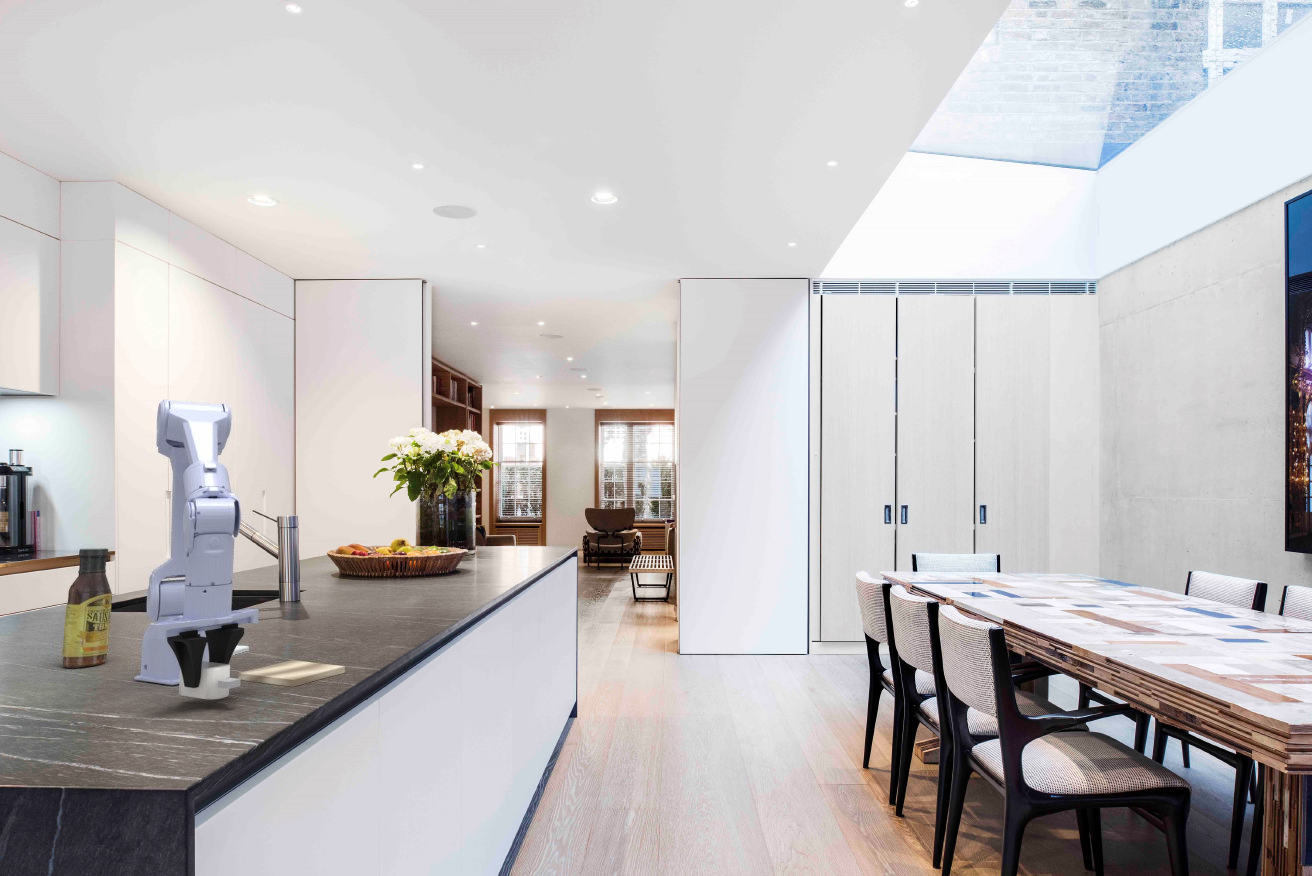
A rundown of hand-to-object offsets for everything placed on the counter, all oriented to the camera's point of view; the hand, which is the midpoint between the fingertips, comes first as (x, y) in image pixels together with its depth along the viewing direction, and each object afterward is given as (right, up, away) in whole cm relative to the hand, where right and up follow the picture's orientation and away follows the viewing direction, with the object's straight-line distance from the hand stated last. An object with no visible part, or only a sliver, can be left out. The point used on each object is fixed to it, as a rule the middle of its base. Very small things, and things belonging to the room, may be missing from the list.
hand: (204, 683), depth 102 cm
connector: (0, -1, 0) cm, 1 cm away
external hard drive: (-19, -6, +31) cm, 37 cm away
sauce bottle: (-36, -5, +25) cm, 44 cm away
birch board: (+4, -4, +16) cm, 17 cm away
